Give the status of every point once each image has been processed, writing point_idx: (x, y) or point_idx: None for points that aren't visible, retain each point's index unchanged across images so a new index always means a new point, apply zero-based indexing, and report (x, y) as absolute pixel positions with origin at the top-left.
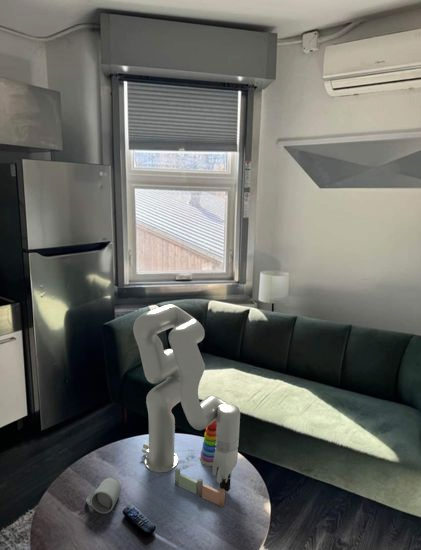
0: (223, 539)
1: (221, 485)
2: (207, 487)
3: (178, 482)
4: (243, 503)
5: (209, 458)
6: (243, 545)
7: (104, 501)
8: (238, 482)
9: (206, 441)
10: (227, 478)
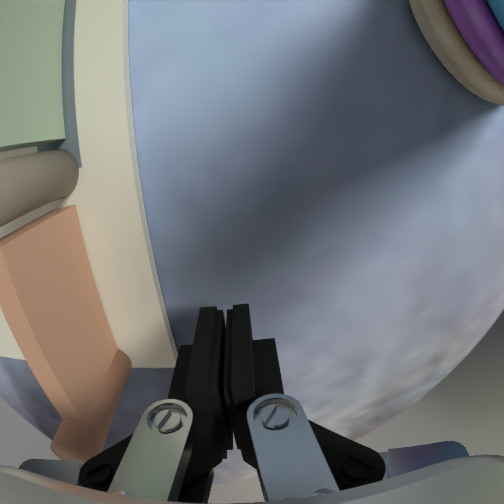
0: (29, 410)
1: (176, 369)
2: (5, 308)
3: None
4: None
5: (474, 12)
6: None
7: None
8: (392, 321)
9: None
10: (194, 494)
